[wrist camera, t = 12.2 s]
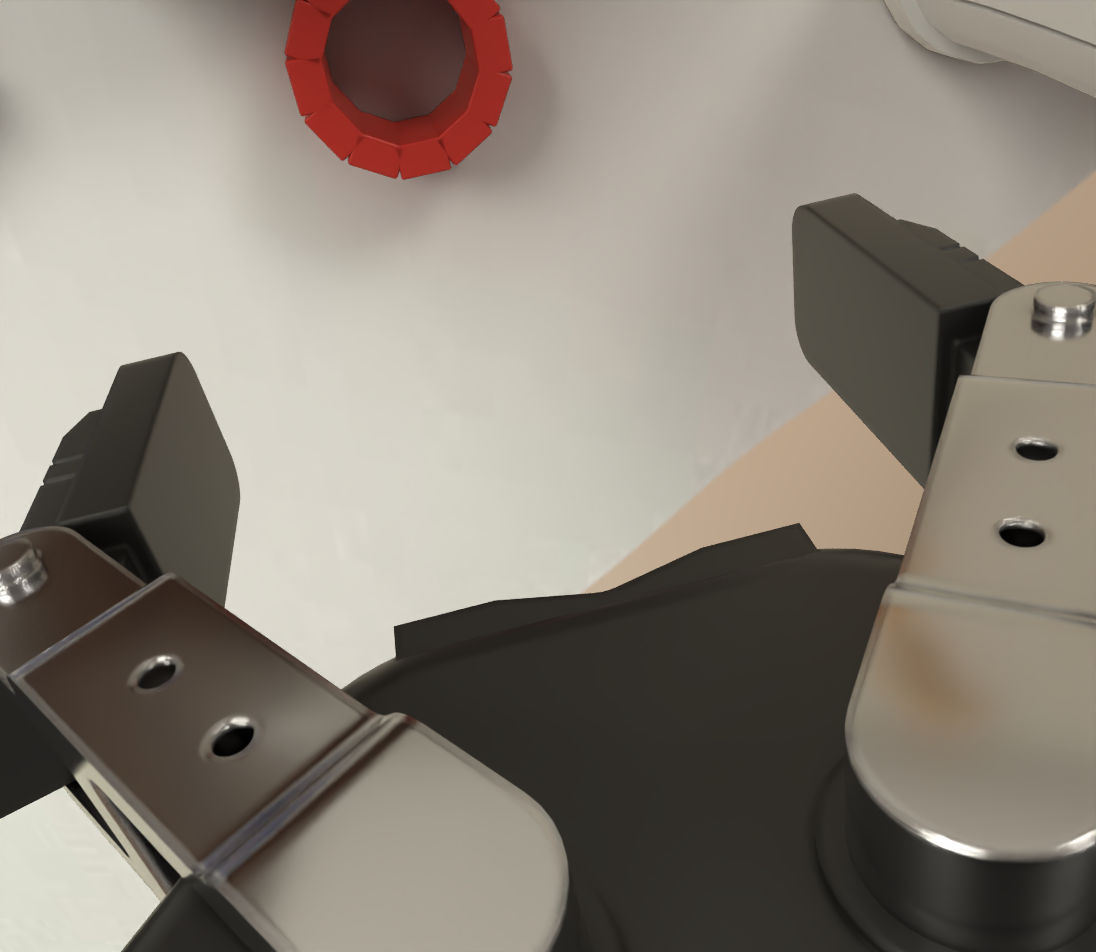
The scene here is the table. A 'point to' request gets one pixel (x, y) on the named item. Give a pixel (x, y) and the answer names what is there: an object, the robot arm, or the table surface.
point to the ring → (411, 140)
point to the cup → (1009, 34)
